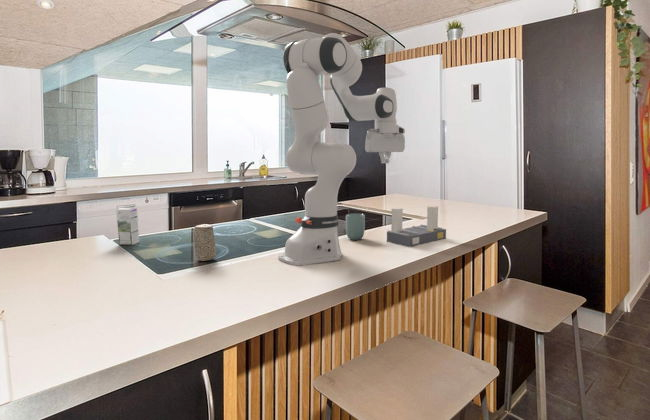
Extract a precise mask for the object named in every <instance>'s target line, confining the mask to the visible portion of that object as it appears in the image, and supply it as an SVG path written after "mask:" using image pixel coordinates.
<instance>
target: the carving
mask: <svg viewBox="0 0 650 420" xmlns="http://www.w3.org/2000/svg"><path fill="white" fill-rule="evenodd" d="M215 237H216V236H215V233H214V227H213V225H212V224H207V223H206V224H205V223H204V224H198V225H195V226H194V229H193V241H194V242H193V245H194V253H195V257H196V259H197V261H199V262H207V261H211V260H214V259H216V258H217V246H216V239H215Z"/></svg>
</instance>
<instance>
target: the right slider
mask: <svg viewBox="0 0 650 420" xmlns="http://www.w3.org/2000/svg"><path fill="white" fill-rule="evenodd" d="M426 225H427V228H428V229H437V228H438V226H439V206H435V205H429V206H427V215H426Z"/></svg>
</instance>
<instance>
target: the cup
mask: <svg viewBox="0 0 650 420" xmlns="http://www.w3.org/2000/svg"><path fill="white" fill-rule="evenodd" d="M365 219H366V215H365V214H364V213H347V214H346V215H345V233H346V236H347V238H348V239H349V240H351V241H359V240H362V239H363V238H364V235H365V227H366V221H365Z"/></svg>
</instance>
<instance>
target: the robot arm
mask: <svg viewBox="0 0 650 420" xmlns="http://www.w3.org/2000/svg"><path fill="white" fill-rule="evenodd" d="M282 60H283V61H282V62H283V66H284V68H285V71H286V73H287V76H286V90H287V91H286V92H287V98H288V99H287V100H288V104H289V107H290V111H291V115H292V120H293V125H294V130H295V133H294V141H293V143H292V144H291V145H290V147H289V148H288V149H287V152H286V156H285V160H286V161H285V162H286V165H287V168H288V170H290V171H291V172H293V173H296V174H300V175H306V176H307V175H309V176H313V175H314V176H317V180H316V182H315V185H313V186H311V187H309V188H308V189H307V190H306V192H305V195H304V215H303V218H302V217H298V216H297V217H295V220H294V221H295V223H296V224H300V227H299V228H298V229H297V230H296V231H295V232H294V233H293V234H292V235H291V236H290V237H289V238H288V239H287V240H286V242H285V246H284V253H281V254H278V256H277V258H278V260H279V261H281V262H284V263H287V264H289V265H295V266H307V265H314V264H320V263H326V262H327V263H328V262H333V261H334V262H335V261H340V260H341V257H342V256H343V253H342V250H341V246H340V241H339V233H338V232H339V231H338V226H339V215H338V194H339V189H340V187H341V185H342V182H343V181H344V179H345V178H346V177H347V176H348V175H349V174H350V173H351V172H352V171H353V170H354V169H355V166H356V164H357V154H356V152H355V149H354V148H353V146H352V145H351V144H347V143H343V142H337V141H336V142H333V141H332V142H321V141H320V138H319V135H320V134H321V133H322V132H323V131H325V130H326V128H327V126H328V124H329V117H328V111H327V108H326V103H325V99H324V98H325V97H324V94H323V91H322V88H321V85H320V82H319V79H320V75H327V74H330V78H329V82H330V86H331V89H332V90H333V92H334V94H335V96H336V97H337V99H338V101H339V103H340V105H341V107H342V108H343V111H344V112H343V113H344V114H345V115H344V116H345V117H346V118H347V119H348V120H349V121H350V122H352V123H355V122H362V121H363V122H364V121H365V122H366V121H373V120H374V128H369V129H368V130H367V132H366V136H365V143H364V150H365V152H366V153H378V156H379V158H380V164H389V163H390V158H391V156H392V153H404V151H405V147H406V140H405V139H406V138H405V135H404V134H405V132H406V130H405V128H404V127H402V126H400V125H399V124H397V118H396V117H397V116H396V114H397V109H398V107H397V106H398V105H397V104H398V103H397V93H396V91H395V89H394V88H391V87H388V86H387V87H384V86H383V87H379V88H377V90H376V92H374V93H373V94H368V95H354V94H353V93H352V91H351V89H350V87H351V86H353V85H354V84H355V83H356V82H357V81H358V80H359V79H360V77H361V75H362V72H363V64H362V61H361V58H360V57H359V55H358V54H357V53H356V51H355V50H354V48H353V47H352V46H351V44H350V43H349V42H348V41H347V40H346V39H345V38H344V37H343V36H342V35H341V34H339V33H336V32H331V33H327V34H326V35H324V36H322V37H311V38H306V39H305V38H304V39H301V40H294V41H292V42H289V43H288V44H287V45H285V47H284V50H283V55H282Z"/></svg>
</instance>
